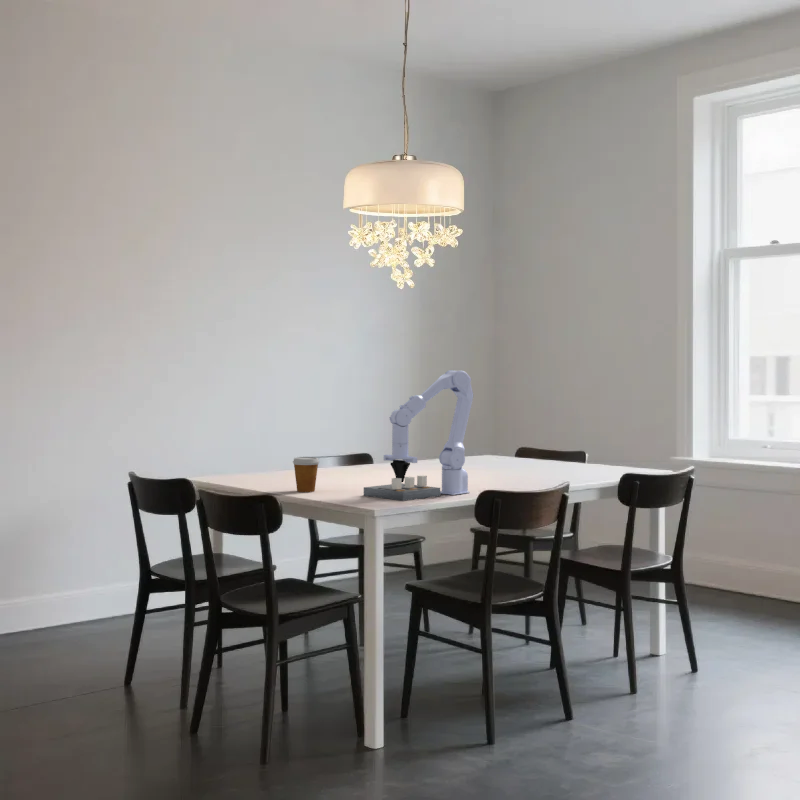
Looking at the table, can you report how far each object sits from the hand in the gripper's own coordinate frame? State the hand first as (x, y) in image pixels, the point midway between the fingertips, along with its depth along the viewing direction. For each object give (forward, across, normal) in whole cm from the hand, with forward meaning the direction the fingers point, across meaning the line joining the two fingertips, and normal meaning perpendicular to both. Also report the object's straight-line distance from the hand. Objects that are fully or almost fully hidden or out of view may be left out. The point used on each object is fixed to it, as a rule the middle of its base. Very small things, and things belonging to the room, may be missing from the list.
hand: (400, 482), depth 365 cm
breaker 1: (+1, +5, -7) cm, 8 cm away
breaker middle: (+1, +5, 0) cm, 5 cm away
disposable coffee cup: (+5, -32, -16) cm, 36 cm away
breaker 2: (+1, +5, +6) cm, 8 cm away
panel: (+5, +1, 0) cm, 5 cm away
